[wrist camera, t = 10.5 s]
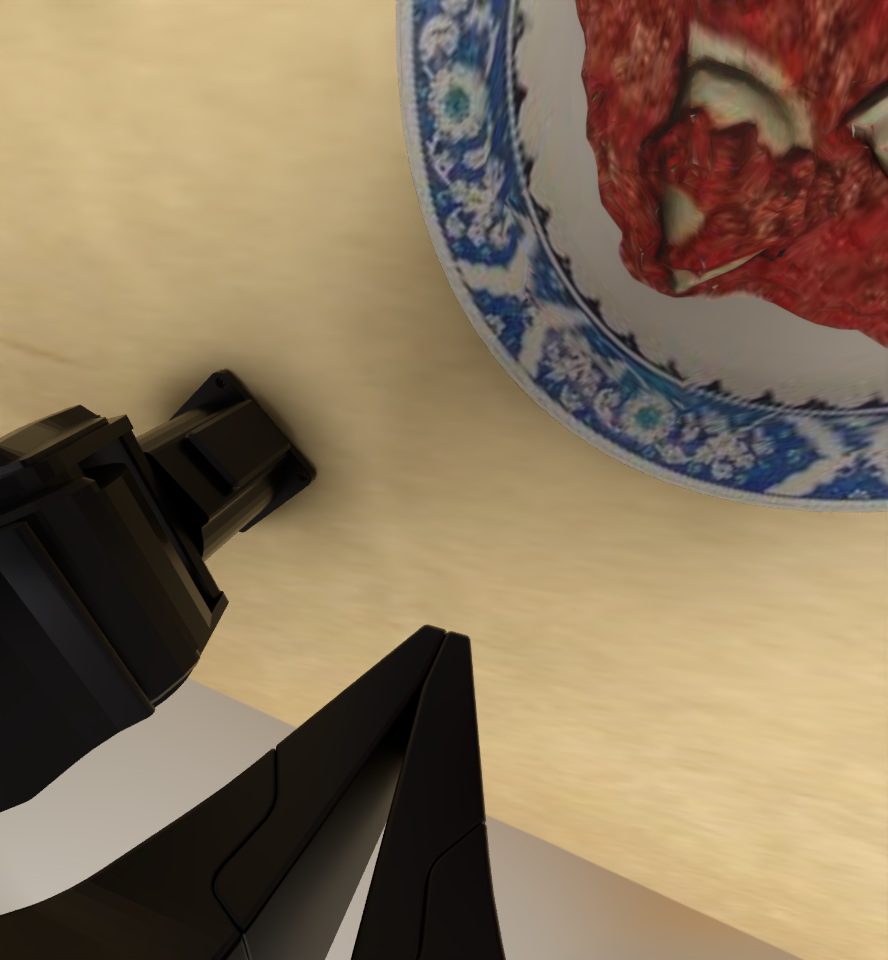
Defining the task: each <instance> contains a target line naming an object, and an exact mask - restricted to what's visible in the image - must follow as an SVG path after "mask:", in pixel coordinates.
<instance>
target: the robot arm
mask: <svg viewBox="0 0 888 960" xmlns="http://www.w3.org/2000/svg"><path fill="white" fill-rule="evenodd" d="M221 378H222V379H223V380H224V382H225V384H223V382H222V381H221ZM131 429H133V426H132V424H131V423H130V421H129V419H128V417H127V415H122V416H118V417H113V418H109V419H106V417H100V415H96V414H94V413H92V412H91V411H89V410H88V409H86V408H85V407H83V406H81V405H78V406H74V407H70V408H67V409H65V410H62V411H59V412H57V413H54V414H52V415H49V416H47V417H44V418H42V419H39V420H37V421H34V422H32V423H29V424H27V425H25V426H23V427H20V428H18V429H16V430H14V431H12V432H10V433H8V434H7V435H5V436H3V437H1V438H0V812H2V811H5V810H7V809H10V808H12V807H15V806H17V805H20V804H22V803H25V802H27V801H29V800H30V799H32V798H33V797H34V796H36V795H37V794H38V793H40V791H42V790H43V789H44V788H46V787H47V786H48V785H49V784H50V783H52V782H53V781H54V780H55V779H56V778H57V777H59V776H60V775H61V774H62V773H64V772H65V771H66V770H67V769H68V768H70V767H71V766H72V765H73V764H74V763H75V762H77V761H78V760H80V758H82V757H83V756H85V755H86V754H87V753H89V752H90V751H91V750H92V749H94V748H96V747H97V746H99V745H100V744H101V743H103V742H105V741H106V740H108V739H109V738H111V737H112V736H114V735H115V734H117V733H119V732H120V731H122V730H124V729H126V728H128V727H130V726H132V725H134V724H136V723H138V722H140V721H142V720H144V719H146V718H148V717H150V716H151V715H152V714H153V713H154V711H155V707H156V706H158V705H159V704H160V703H162V702H163V701H165V700H166V699H167V698H168V697H169V696H171V695H172V694H173V693H174V692H175V691H176V690H177V689H178V688H179V687H180V686H181V685H182V684H183V683H184V681H185V680H186V679H187V678H188V676H189V675H190V673H191V672H192V670H193V668H194V667H195V666H196V665H197V663H198V661H199V659H200V655H201V653H202V651H203V650H204V648H205V646H206V644H207V642H208V640H209V638H210V637H211V635H212V633H213V631H214V629H215V627H216V625H217V624H218V622H219V620H220V618H221V616H222V614H223V612H224V610H225V609H226V607H227V605H228V603H229V601H228V600H227V598H226V596H225V594H224V592H223V591H220V590H219V588H218V586H217V585H216V583H215V581H214V579H213V577H212V575H211V574H210V572H209V570H208V568H207V566H206V565H205V563H204V561H205V560H207V559H208V558H209V557H210V556H211V555H212V554H213V553H215V552H216V551H217V550H218V549H219V548H220V547H221V546H222V545H224V544H225V543H226V542H227V541H228V540H229V539H230V538H231V537H233V536H234V535H235V534H236V533H237V532H238V531H239V532H245V531H247V530H248V529H249V528H251V527H252V526H253V525H255V524H256V523H258V522H259V521H260V520H262V519H263V518H264V517H266V516H267V515H268V514H270V513H271V512H272V511H274V510H275V509H277V508H278V507H279V506H281V505H282V504H283V503H285V502H286V501H287V500H289V499H290V498H292V497H293V496H294V495H296V494H297V493H298V492H300V491H301V490H302V489H304V488H305V487H307V486H308V485H309V484H310V483H311V482H312V481H313V480H314V479H315V477H316V473H315V470H314V469H313V467H312V466H311V465H310V464H309V463H308V462H307V460H306V459H305V458H304V457H303V456H302V455H301V454H300V452H299V451H298V450H297V449H296V448H295V447H294V445H293V444H292V443H291V442H290V441H289V440H288V438H287V437H286V436H285V435H284V434H283V433H282V432H281V430H280V429H279V428H278V427H277V426H276V425H275V423H274V422H273V421H272V420H271V419H270V418H269V416H268V415H267V414H266V413H265V412H264V411H263V410H262V408H261V407H260V406H259V405H258V404H257V403H256V401H255V400H254V399H253V398H252V397H251V396H250V395H249V393H248V392H247V391H246V390H245V389H244V388H243V386H242V385H241V384H240V383H239V382H238V381H237V379H236V378H235V377H234V376H233V375H232V374H231V373H230V372H229V371H227V370H219V371H217V372H215V373H213V374H212V375H211V376H210V377H209V378H208V379H207V380H206V381H205V383H204V384H203V385H202V386H201V387H200V388H199V389H198V390H197V391H196V392H195V393H194V394H193V395H192V396H191V398H190V399H189V400H188V401H187V402H186V403H185V404H184V405H183V406H182V407H181V408H180V409H179V410H178V411H177V412H176V414H175V415H174V416H173V417H172V418H171V419H170V420H169V421H168V422H166V423H164V424H162V425H160V426H158V427H156V428H154V429H152V430H150V431H148V432H146V433H144V434H142V435H140V436H138V437H135V436H134V434H133V432H132V430H131ZM302 472H304V473H305V474H306V476H307V477H305V476H304V475H303V474H302ZM386 821H387V823H386ZM485 822H486V815H485V804H484V792H483V781H482V769H481V758H480V746H479V734H478V723H477V711H476V700H475V688H474V677H473V665H472V654H471V642H470V638H469V637H468V636H467V635H463V634H460V633H456V632H453V631H449V632H448V633H447V631H446V630H445V629H442V628H439V627H435V626H431V625H424V626H423V627H421V628H420V629H419V630H418V631H416V632H415V633H414V634H413V635H411V636H410V637H409V638H408V639H407V640H405V641H404V642H403V643H402V644H400V645H399V646H398V647H397V648H395V649H394V650H393V651H392V652H391V653H389V654H388V655H387V656H386V657H384V658H383V659H382V660H381V661H379V662H378V663H377V664H376V665H375V666H373V667H372V668H371V669H370V670H368V671H367V672H366V673H365V674H364V675H362V676H361V677H360V678H359V679H357V680H356V681H355V682H354V683H352V684H351V685H350V686H349V687H348V688H346V689H345V690H344V691H343V692H341V693H340V694H339V695H338V696H336V697H335V698H334V699H333V700H332V701H330V702H329V703H328V704H327V705H325V706H324V707H323V708H322V709H321V710H319V711H318V712H317V713H316V714H314V715H313V716H312V717H311V718H309V719H308V720H307V721H306V722H305V723H303V724H302V725H301V726H300V727H298V728H297V729H296V730H295V731H293V732H292V733H291V734H290V735H289V736H287V737H286V738H285V739H284V740H282V741H281V742H280V743H279V744H278V745H277V746H276V750H275V749H271V750H270V751H269V752H267V753H266V754H265V755H264V756H263V757H261V758H260V759H259V760H258V761H256V762H255V763H254V764H253V765H251V766H250V767H249V768H248V769H246V770H245V771H244V772H242V773H241V774H240V775H239V776H237V777H236V778H235V779H233V780H232V781H231V782H229V783H228V784H227V785H226V786H224V787H223V788H221V789H220V790H219V791H217V792H216V793H214V794H213V795H212V796H210V797H209V798H207V799H206V800H204V801H203V802H201V803H200V804H199V805H197V806H196V807H194V808H193V809H191V810H190V811H188V812H187V813H185V814H184V815H182V816H181V817H179V818H178V819H176V820H175V821H173V822H172V823H170V824H169V825H168V826H166V827H165V828H163V829H162V830H160V831H159V832H157V833H156V834H154V835H152V836H151V837H149V838H148V839H146V840H145V841H144V842H142V843H141V844H139V845H137V846H136V847H135V848H133V849H132V850H130V851H128V852H127V853H125V854H124V855H123V856H121V857H120V858H118V859H116V860H115V861H114V862H112V863H110V864H109V865H108V866H106V867H104V868H103V869H102V870H100V871H98V872H97V873H95V874H94V875H92V876H91V877H89V878H88V879H86V880H84V881H82V882H80V883H79V884H77V885H75V886H73V887H71V888H69V889H68V890H65V891H63V892H61V893H59V894H57V895H55V896H53V897H51V898H48V899H46V900H44V901H41V902H39V903H36V904H34V905H31V906H28V907H25V908H22V909H19V910H15V911H12V912H9V913H6V914H3V915H0V960H325V958H326V956H327V954H328V951H329V949H330V947H331V945H332V943H333V940H334V938H335V936H336V934H337V931H338V929H339V927H340V924H341V922H342V920H343V918H344V916H345V913H346V911H347V909H348V907H349V904H350V902H351V900H352V898H353V895H354V893H355V891H356V889H357V886H358V884H359V882H360V880H361V878H362V875H363V873H364V871H365V869H366V866H367V864H368V862H369V859H370V857H371V855H372V853H373V851H374V848H375V846H376V844H377V842H378V839H379V837H380V835H381V832H382V830H383V828H384V826H385V824H386V826H385V830H384V834H383V838H382V842H381V846H380V850H379V853H378V857H377V861H376V865H375V869H374V873H373V876H372V880H371V884H370V888H369V892H368V895H367V899H366V903H365V907H364V911H363V915H362V919H361V922H360V926H359V930H358V934H357V938H356V941H355V945H354V949H353V953H352V957H351V960H506V958H505V953H504V949H503V943H502V938H501V932H500V927H499V921H498V916H497V909H496V904H495V898H494V892H493V883H492V875H491V867H490V858H489V848H488V836H487V826H486V825H485Z"/></svg>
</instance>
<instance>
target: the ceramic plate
mask: <svg viewBox="0 0 888 960" xmlns="http://www.w3.org/2000/svg"><path fill="white" fill-rule="evenodd" d="M396 21H397V68H398V80H399V91H400V102H401V113H402V121H403V127H404V133H405V139H406V145H407V151H408V157H409V163H410V168H411V172H412V176H413V180H414V184H415V188H416V192H417V196H418V200H419V204H420V208H421V212H422V215H423V218H424V221H425V224H426V226H427V229H428V232H429V235H430V238H431V241H432V244H433V247H434V250H435V253H436V255H437V257H438V259H439V262H440V264H441V266H442V268H443V271H444V273H445V275H446V277H447V280H448V282H449V284H450V286H451V289H452V291H453V292H454V294H455V296H456V298H457V300H458V301H459V303H460V305H461V307H462V309H463V310H464V312H465V314H466V316H467V317H468V319H469V321H470V323H471V324H472V326H473V327H474V329H475V330H476V332H477V333H478V335H479V336H480V338H481V339H482V340H483V342H484V343H485V345H486V346H487V348H488V349H489V351H490V352H491V354H492V355H493V356H494V357H495V359H496V360H497V361H498V362H499V363H500V365H501V366H502V367H503V368H504V369H505V371H506V372H507V373H508V374H509V375H510V376H511V378H512V379H513V380H514V381H515V382H516V383H517V384H518V385H519V386H520V387H521V388H522V389H523V390H524V391H525V392H526V393H527V394H528V395H529V396H530V397H531V398H532V399H533V400H534V401H535V402H536V403H537V404H538V405H539V406H540V407H541V408H542V409H543V410H545V411H546V412H547V413H548V414H549V415H551V416H552V417H553V418H554V419H556V420H557V421H558V422H559V423H561V424H562V425H563V426H564V427H565V428H567V429H568V430H569V431H571V432H572V433H574V434H575V435H577V436H578V437H580V438H581V439H583V440H584V441H586V442H587V443H589V444H590V445H592V446H593V447H595V448H596V449H598V450H600V451H601V452H603V453H605V454H607V455H609V456H611V457H613V458H614V459H616V460H618V461H620V462H622V463H624V464H626V465H627V466H629V467H631V468H634V469H636V470H638V471H641V472H643V473H645V474H648V475H650V476H652V477H655V478H657V479H659V480H662V481H664V482H667V483H670V484H673V485H676V486H679V487H683V488H686V489H689V490H692V491H695V492H698V493H701V494H705V495H710V496H714V497H718V498H722V499H726V500H731V501H735V502H740V503H746V504H752V505H759V506H765V507H772V508H778V509H791V510H803V511H816V512H880V511H888V0H397V3H396Z"/></svg>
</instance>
